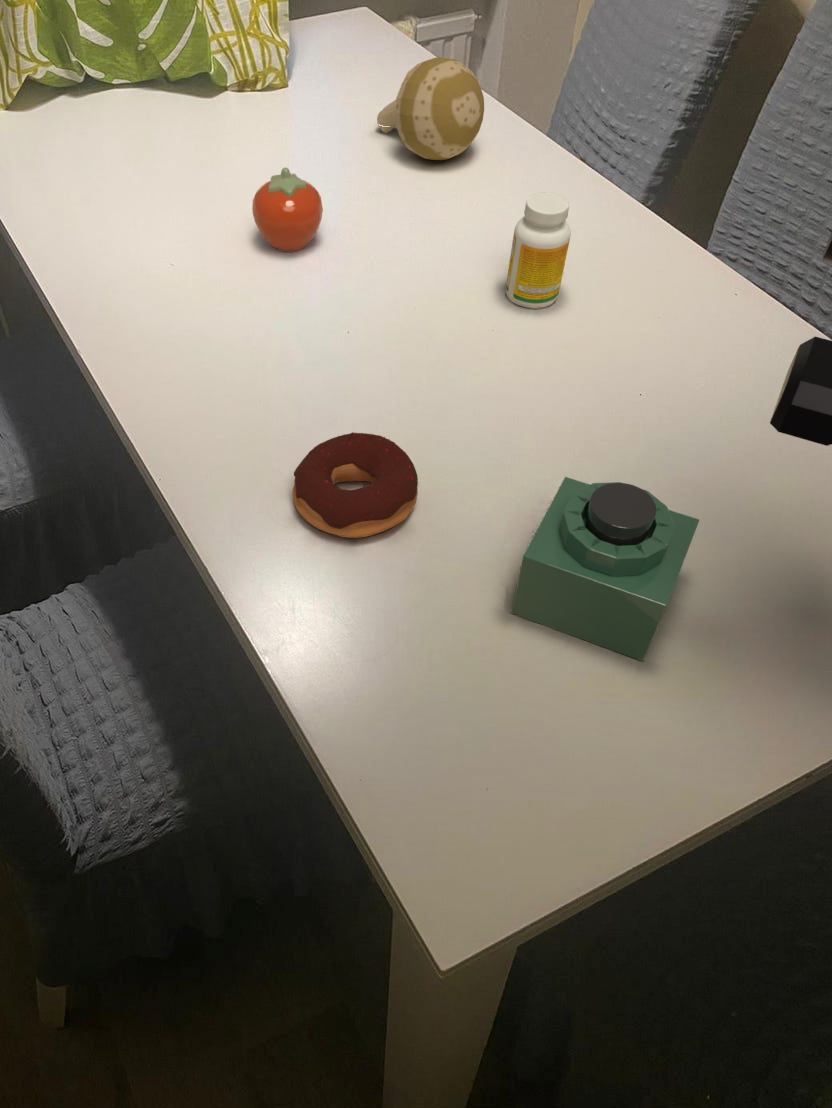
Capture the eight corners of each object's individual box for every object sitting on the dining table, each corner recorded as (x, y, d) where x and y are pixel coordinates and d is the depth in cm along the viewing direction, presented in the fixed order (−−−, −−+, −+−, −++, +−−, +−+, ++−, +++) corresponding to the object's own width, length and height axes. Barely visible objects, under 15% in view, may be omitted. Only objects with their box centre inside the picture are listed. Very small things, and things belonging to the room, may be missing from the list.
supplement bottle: (495, 288, 95) (507, 195, 87) (539, 275, 96) (555, 183, 89) (523, 315, 92) (539, 221, 84) (568, 302, 94) (588, 208, 86)
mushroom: (409, 85, 117) (491, 37, 105) (429, 175, 121) (511, 138, 109) (344, 94, 112) (423, 44, 100) (367, 187, 116) (446, 150, 103)
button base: (675, 577, 71) (707, 500, 65) (643, 662, 66) (674, 588, 60) (551, 534, 74) (569, 457, 67) (510, 613, 69) (526, 537, 62)
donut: (290, 545, 73) (288, 509, 70) (295, 461, 79) (292, 424, 76) (419, 545, 73) (422, 508, 70) (414, 461, 79) (416, 423, 76)
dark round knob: (657, 513, 64) (664, 494, 63) (639, 554, 62) (646, 536, 61) (596, 493, 66) (601, 474, 64) (576, 533, 63) (581, 515, 62)
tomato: (336, 248, 100) (335, 173, 93) (276, 268, 97) (271, 192, 91) (301, 218, 104) (298, 144, 97) (242, 237, 101) (235, 162, 95)
